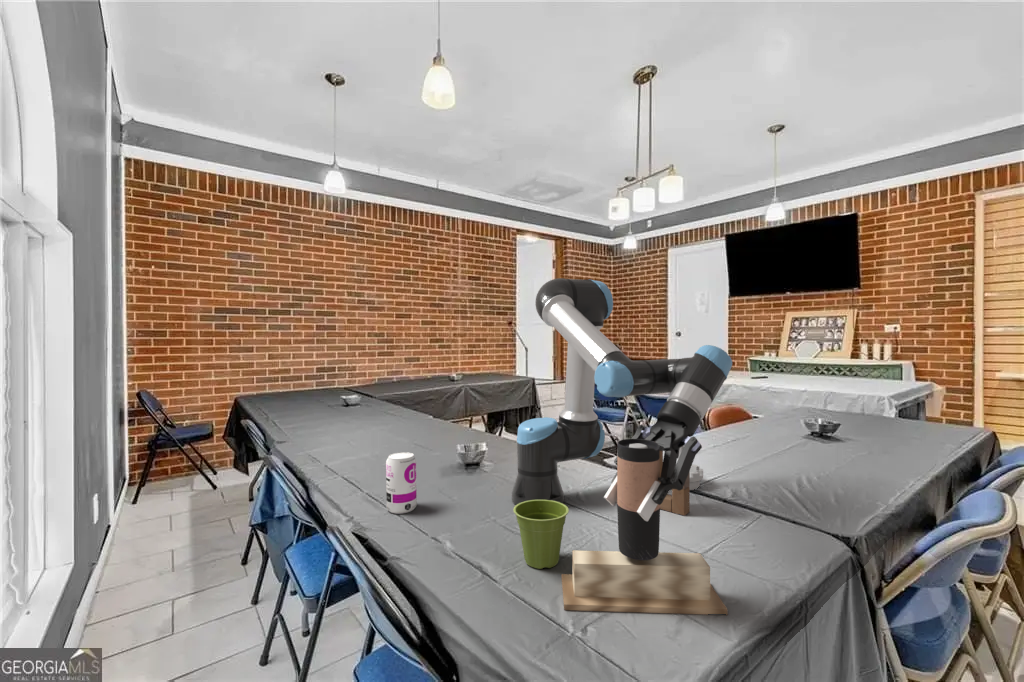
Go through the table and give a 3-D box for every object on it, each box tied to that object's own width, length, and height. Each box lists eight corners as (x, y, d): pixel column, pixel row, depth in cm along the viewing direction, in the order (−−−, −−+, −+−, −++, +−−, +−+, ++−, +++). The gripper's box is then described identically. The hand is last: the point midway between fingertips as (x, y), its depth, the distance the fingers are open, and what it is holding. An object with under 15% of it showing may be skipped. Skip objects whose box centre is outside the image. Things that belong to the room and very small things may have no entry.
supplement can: (422, 505, 128) (421, 453, 128) (403, 516, 120) (403, 461, 120) (399, 501, 131) (398, 450, 131) (380, 511, 124) (379, 457, 124)
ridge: (564, 609, 79) (563, 570, 79) (561, 579, 89) (561, 544, 89) (727, 615, 77) (727, 574, 77) (706, 582, 87) (706, 547, 87)
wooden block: (684, 516, 119) (684, 448, 119) (646, 506, 126) (646, 442, 126) (690, 512, 122) (690, 446, 121) (652, 502, 129) (652, 440, 129)
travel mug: (612, 542, 87) (611, 439, 86) (650, 540, 87) (650, 437, 87) (625, 562, 79) (624, 449, 79) (667, 560, 80) (667, 448, 79)
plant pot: (571, 550, 101) (571, 500, 101) (565, 578, 89) (565, 522, 89) (520, 545, 103) (519, 496, 103) (508, 572, 92) (507, 517, 92)
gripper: (739, 432, 82) (681, 541, 74) (652, 415, 99) (597, 502, 91) (722, 405, 79) (659, 517, 71) (635, 393, 97) (577, 481, 89)
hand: (624, 508), depth 81 cm, fingers closed on travel mug, 7 cm apart
